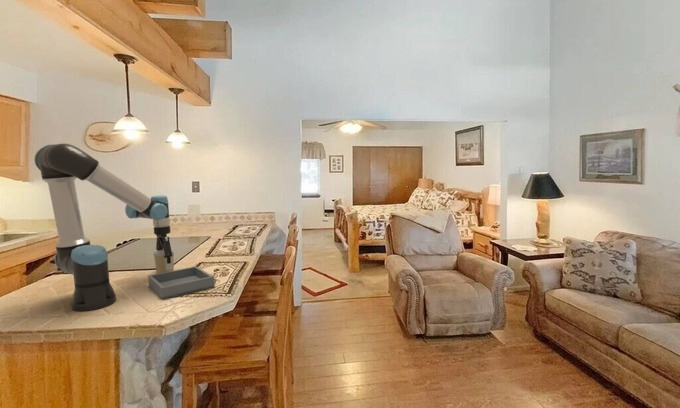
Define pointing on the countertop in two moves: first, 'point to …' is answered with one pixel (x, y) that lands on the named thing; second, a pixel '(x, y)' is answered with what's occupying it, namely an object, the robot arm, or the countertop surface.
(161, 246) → the robot arm
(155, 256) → the coffee cup
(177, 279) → the walled box
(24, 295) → the countertop surface
